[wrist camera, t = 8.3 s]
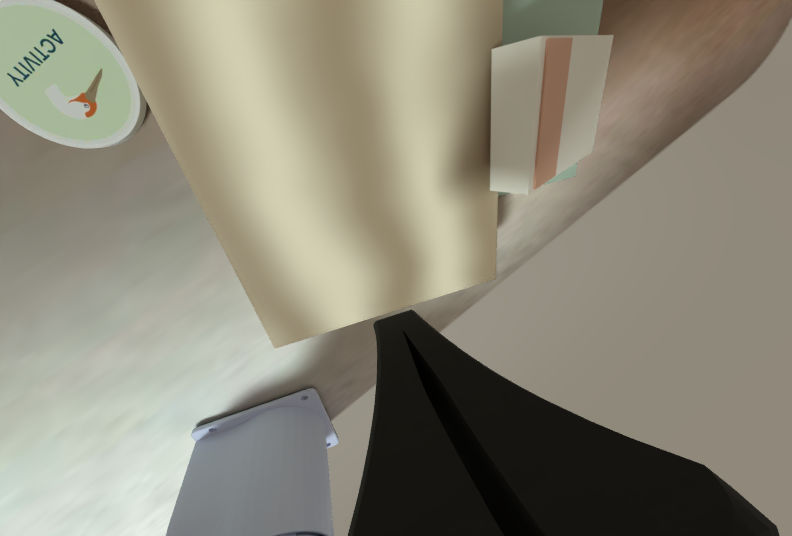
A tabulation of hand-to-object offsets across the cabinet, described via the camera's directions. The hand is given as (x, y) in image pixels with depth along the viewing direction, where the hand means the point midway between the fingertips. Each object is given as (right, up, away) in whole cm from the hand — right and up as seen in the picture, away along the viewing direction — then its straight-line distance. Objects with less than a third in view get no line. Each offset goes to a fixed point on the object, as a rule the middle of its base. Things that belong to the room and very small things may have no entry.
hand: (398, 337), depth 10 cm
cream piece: (-3, +8, +7) cm, 11 cm away
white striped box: (+8, +11, +6) cm, 15 cm away
